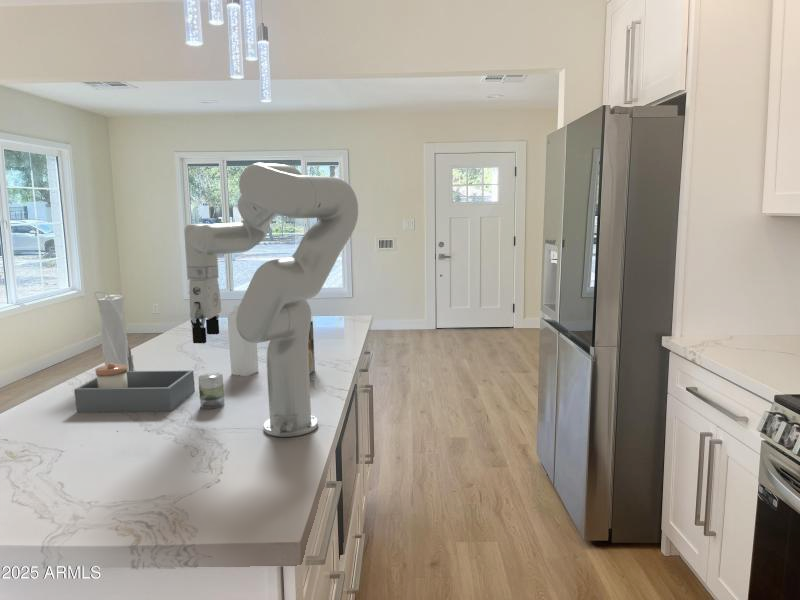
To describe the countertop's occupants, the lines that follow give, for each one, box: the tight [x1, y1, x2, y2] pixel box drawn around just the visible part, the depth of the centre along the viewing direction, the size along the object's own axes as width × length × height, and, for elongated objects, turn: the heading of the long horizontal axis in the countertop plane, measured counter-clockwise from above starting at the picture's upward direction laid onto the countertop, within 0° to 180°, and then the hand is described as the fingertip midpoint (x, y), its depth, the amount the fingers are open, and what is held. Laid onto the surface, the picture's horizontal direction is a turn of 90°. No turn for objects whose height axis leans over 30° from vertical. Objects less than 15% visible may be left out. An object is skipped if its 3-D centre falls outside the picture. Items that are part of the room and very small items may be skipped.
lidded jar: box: [94, 363, 128, 388], centre depth 151 cm, size 7×7×10 cm
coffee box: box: [308, 320, 316, 375], centre depth 176 cm, size 9×6×16 cm
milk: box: [227, 303, 259, 377], centre depth 178 cm, size 6×6×22 cm
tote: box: [74, 369, 196, 414], centre depth 151 cm, size 16×24×7 cm, turn 89°
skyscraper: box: [93, 290, 136, 371], centre depth 170 cm, size 8×8×28 cm
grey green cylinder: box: [198, 372, 225, 410], centre depth 150 cm, size 6×6×8 cm
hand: (206, 338), depth 148 cm, fingers open, 9 cm apart
